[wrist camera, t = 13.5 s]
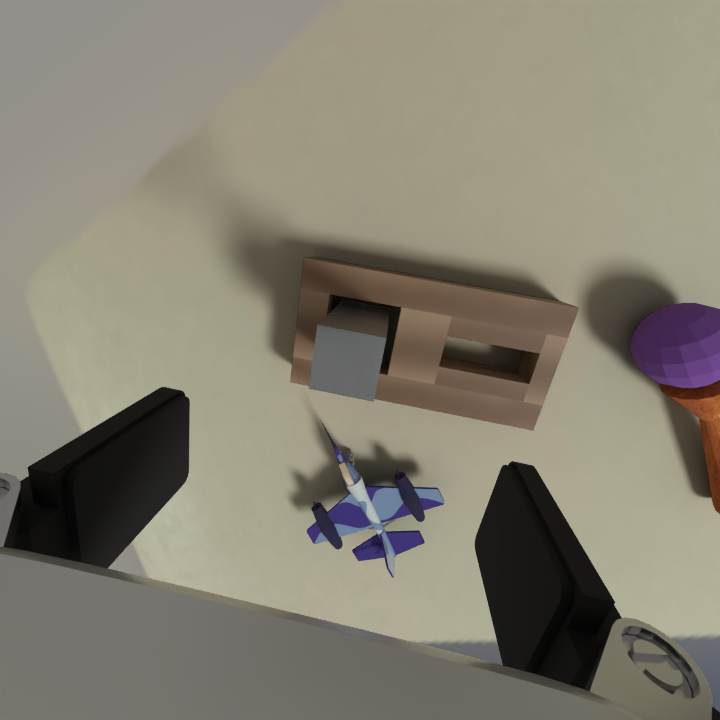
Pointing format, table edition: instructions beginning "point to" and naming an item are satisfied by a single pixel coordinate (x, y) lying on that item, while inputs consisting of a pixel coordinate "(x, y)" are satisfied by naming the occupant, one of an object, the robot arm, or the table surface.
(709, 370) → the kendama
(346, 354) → the square peg
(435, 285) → the socket block
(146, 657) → the robot arm
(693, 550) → the table surface
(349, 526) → the toy airplane
